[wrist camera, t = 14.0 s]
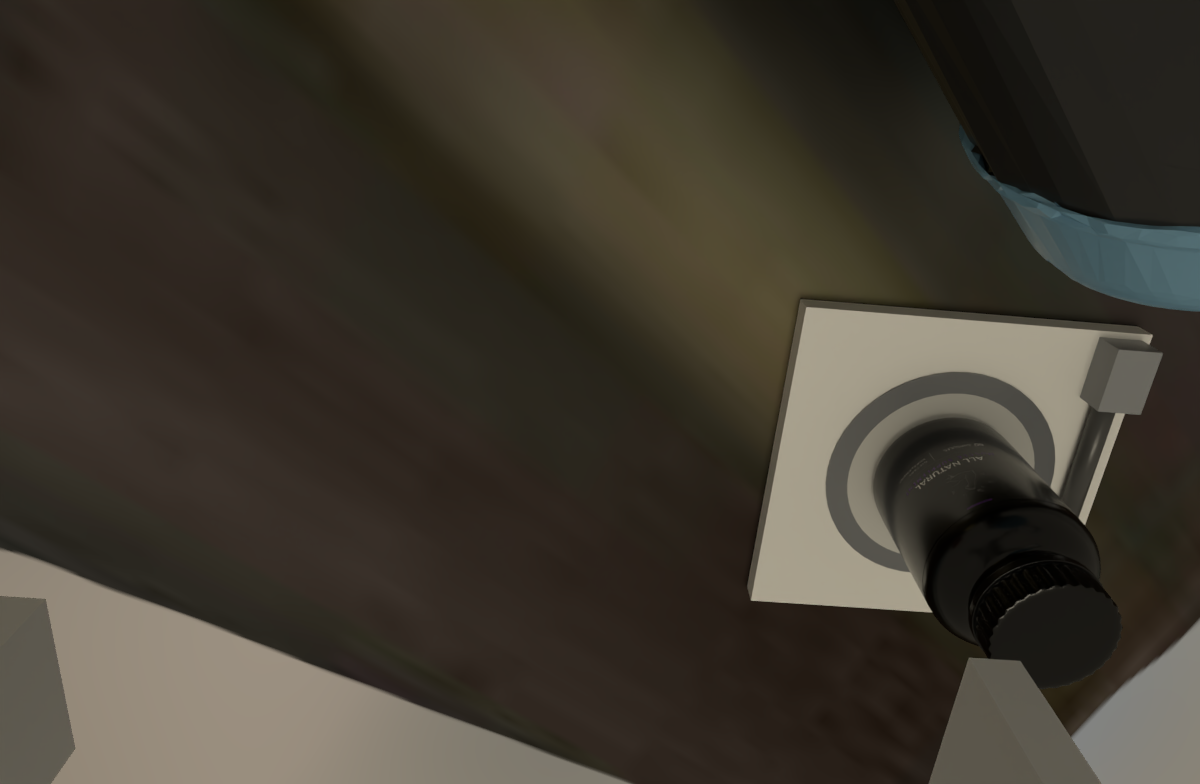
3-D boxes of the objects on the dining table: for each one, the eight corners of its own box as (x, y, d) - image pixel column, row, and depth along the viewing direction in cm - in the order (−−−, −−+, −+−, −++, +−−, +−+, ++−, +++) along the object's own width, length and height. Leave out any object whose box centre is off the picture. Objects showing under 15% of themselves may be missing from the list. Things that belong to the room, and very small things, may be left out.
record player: (800, 298, 40) (814, 318, 38) (1137, 326, 41) (1174, 347, 39) (747, 586, 47) (756, 620, 44) (1040, 605, 48) (1065, 639, 45)
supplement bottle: (916, 390, 41) (1036, 529, 30) (1038, 444, 42) (1198, 597, 31) (841, 507, 43) (926, 676, 32) (958, 555, 44) (1079, 734, 33)
